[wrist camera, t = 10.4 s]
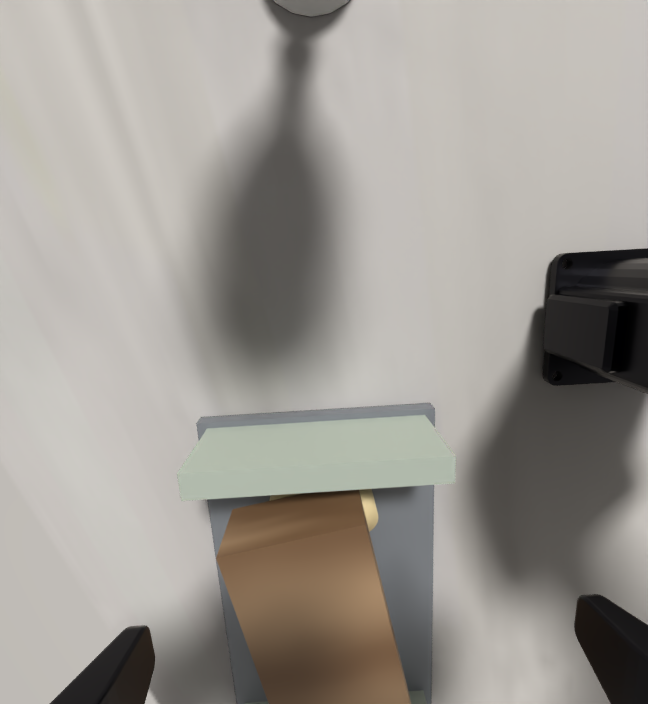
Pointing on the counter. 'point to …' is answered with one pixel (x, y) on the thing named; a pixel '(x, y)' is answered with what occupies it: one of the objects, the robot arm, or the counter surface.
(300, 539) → the shelf board
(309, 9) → the chalice
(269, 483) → the peg cradle
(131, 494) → the counter surface
